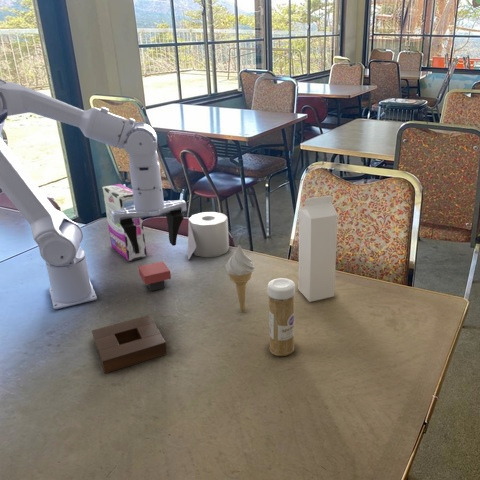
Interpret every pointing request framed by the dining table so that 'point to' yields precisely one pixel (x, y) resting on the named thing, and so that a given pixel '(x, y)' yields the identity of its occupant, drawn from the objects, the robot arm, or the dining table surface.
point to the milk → (317, 248)
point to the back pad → (154, 275)
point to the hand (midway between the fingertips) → (154, 247)
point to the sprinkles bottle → (281, 316)
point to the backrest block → (130, 352)
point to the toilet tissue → (208, 234)
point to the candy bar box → (114, 201)
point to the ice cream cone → (240, 273)
